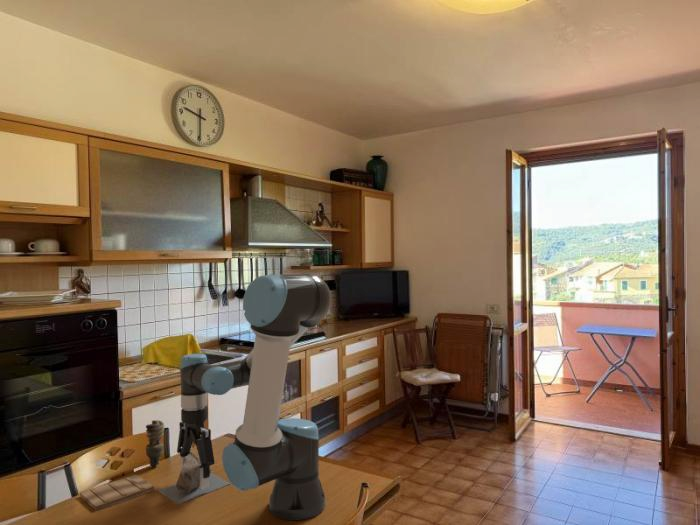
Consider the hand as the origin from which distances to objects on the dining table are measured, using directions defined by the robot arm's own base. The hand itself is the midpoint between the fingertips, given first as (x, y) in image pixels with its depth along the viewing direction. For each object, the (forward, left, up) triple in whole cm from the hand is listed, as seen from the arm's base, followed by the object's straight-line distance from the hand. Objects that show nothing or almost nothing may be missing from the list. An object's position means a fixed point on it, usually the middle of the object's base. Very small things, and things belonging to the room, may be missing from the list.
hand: (195, 483), depth 145 cm
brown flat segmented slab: (+13, +17, -1) cm, 22 cm away
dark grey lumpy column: (+23, +1, -2) cm, 24 cm away
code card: (0, 0, -1) cm, 2 cm away
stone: (0, 0, 0) cm, 0 cm away
